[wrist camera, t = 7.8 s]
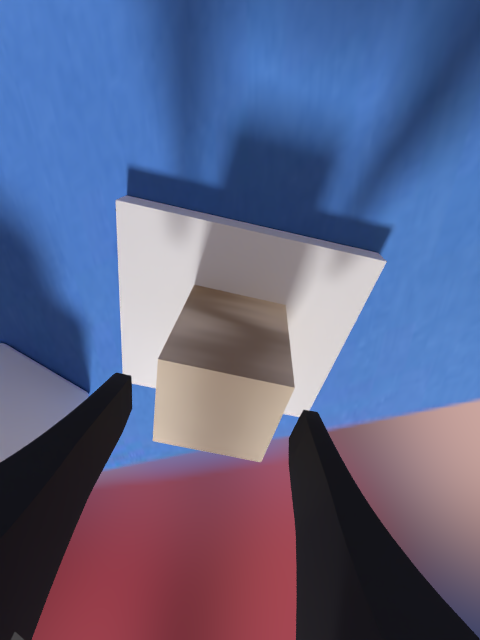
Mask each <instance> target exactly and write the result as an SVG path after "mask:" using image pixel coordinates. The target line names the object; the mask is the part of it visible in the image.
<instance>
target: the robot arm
mask: <svg viewBox="0 0 480 640" xmlns="http://www.w3.org/2000/svg"><path fill="white" fill-rule="evenodd" d="M131 410H132V377H131V375H126V374H121V373H115V374H114V375H112V376H111V377H110V378H109V379H108V380H107V381H106V382H105V383H104V384H103V385H102V386H101V387H99V388H98V389H97V390H96V391H95V392H94V393H93V394H92V395H90V396H89V397H88V398H87V399H86V400H85V401H83V402H82V403H81V404H80V405H79V406H77V407H76V408H75V409H74V410H73V411H72V412H70V413H69V414H68V415H67V416H65V417H64V418H63V419H61V420H60V421H59V422H58V423H56V424H55V425H54V426H52V427H51V428H50V429H48V430H47V431H46V432H44V433H43V434H42V435H40V436H39V437H38V438H36V439H35V440H33V441H32V442H30V443H29V444H28V445H26V446H25V447H23V448H22V449H20V450H19V451H17V452H16V453H14V454H13V455H11V456H10V457H8V458H6V459H5V460H3V461H2V462H0V640H32V637H33V634H34V631H35V629H36V626H37V623H38V621H39V618H40V615H41V613H42V610H43V607H44V605H45V602H46V599H47V597H48V594H49V591H50V589H51V586H52V584H53V581H54V579H55V576H56V574H57V571H58V568H59V566H60V564H61V561H62V559H63V556H64V554H65V551H66V549H67V546H68V544H69V541H70V539H71V537H72V534H73V532H74V529H75V527H76V524H77V522H78V520H79V518H80V515H81V513H82V511H83V508H84V506H85V504H86V501H87V499H88V497H89V495H90V493H91V491H92V489H93V487H94V485H95V483H96V481H97V479H98V478H99V476H100V474H101V472H102V470H103V468H104V466H105V464H106V463H107V461H108V459H109V457H110V455H111V453H112V451H113V449H114V448H115V446H116V444H117V442H118V440H119V438H120V436H121V434H122V432H123V430H124V427H125V425H126V423H127V420H128V417H129V415H130V412H131ZM289 471H290V480H291V490H292V500H293V509H294V518H295V530H296V562H297V611H296V612H297V613H296V640H479V638H478V637H477V635H476V634H474V632H473V631H472V630H471V629H470V628H469V627H468V626H467V625H466V624H465V622H464V621H463V620H462V619H461V618H460V617H459V616H458V615H457V614H456V613H455V612H454V611H453V609H452V608H451V607H450V606H449V605H448V604H447V603H446V602H445V601H444V600H443V599H442V598H441V596H440V595H439V594H438V593H437V592H436V591H435V589H434V588H433V587H432V586H431V585H430V583H429V582H428V581H427V580H426V579H425V578H424V577H423V575H422V574H421V573H420V572H419V571H418V569H417V568H416V567H415V566H414V565H413V563H412V562H411V560H410V559H409V558H408V557H407V555H406V554H405V553H404V552H403V550H402V549H401V548H400V547H399V545H398V544H397V543H396V541H395V540H394V539H393V538H392V536H391V535H390V534H389V532H388V531H387V529H386V528H385V527H384V525H383V524H382V523H381V521H380V520H379V518H378V517H377V515H376V514H375V512H374V511H373V510H372V508H371V507H370V505H369V504H368V502H367V501H366V499H365V497H364V496H363V494H362V493H361V491H360V489H359V488H358V486H357V484H356V483H355V481H354V480H353V478H352V476H351V475H350V473H349V471H348V469H347V468H346V466H345V464H344V462H343V461H342V458H341V457H340V455H339V453H338V451H337V449H336V447H335V445H334V444H333V442H332V440H331V438H330V436H329V434H328V432H327V430H326V428H325V426H324V424H323V422H322V420H321V418H320V416H319V414H318V412H314V411H308V410H303V411H302V413H301V415H300V417H299V419H298V421H297V423H296V425H295V427H294V429H293V431H292V433H291V435H290V437H289Z"/></svg>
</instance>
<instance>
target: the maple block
mask: <svg viewBox="0 0 480 640" xmlns="http://www.w3.org/2000/svg"><path fill="white" fill-rule="evenodd" d="M294 389H295V385H294V376H293V367H292V358H291V349H290V340H289V331H288V322H287V313H286V305H283V304H279V303H274V302H270V301H265V300H261V299H256V298H252V297H248V296H243V295H239V294H234V293H230V292H225V291H221V290H216V289H212V288H207V287H203V286H198V285H194V286H193V288H192V290H191V292H190V294H189V296H188V299H187V301H186V303H185V305H184V307H183V309H182V311H181V313H180V315H179V317H178V319H177V321H176V323H175V325H174V327H173V329H172V331H171V333H170V335H169V337H168V339H167V341H166V343H165V345H164V347H163V349H162V352H161V354H160V356H159V358H158V364H157V381H156V397H155V413H154V430H153V441H155V442H160V443H165V444H170V445H175V446H181V447H186V448H191V449H196V450H201V451H206V452H211V453H216V454H221V455H227V456H232V457H237V458H242V459H247V460H252V461H257V462H261V461H262V459H263V457H264V454H265V452H266V450H267V448H268V446H269V443H270V441H271V439H272V437H273V435H274V433H275V430H276V428H277V426H278V424H279V422H280V419H281V417H282V415H283V413H284V411H285V408H286V406H287V404H288V402H289V400H290V397H291V395H292V393H293V391H294Z"/></svg>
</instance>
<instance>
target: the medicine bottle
mask: <svg viewBox="0 0 480 640" xmlns="http://www.w3.org/2000/svg"><path fill="white" fill-rule="evenodd" d="M88 396H89V395H88V392H86V391H85V390H83V389H81V388H79V387H78V386H76V385H74V384H73V383H71V382H69V381H68V380H66V379H64V378H63V377H61V376H59V375H57V374H56V373H54V372H52V371H51V370H49V369H47V368H46V367H44V366H42V365H40V364H39V363H37V362H35V361H34V360H32V359H30V358H29V357H27V356H25V355H24V354H22V353H20V352H18V351H17V350H15V349H13V348H12V347H10V346H8V345H7V344H4V343H0V462H2V461H3V460H5V459H6V458H8V457H10V456H11V455H13V454H14V453H16V452H17V451H19V450H20V449H22V448H23V447H25V446H26V445H28V444H29V443H30V442H32V441H33V440H35V439H36V438H38V437H39V436H40V435H42V434H43V433H44V432H46V431H47V430H48V429H50V428H51V427H52V426H54V425H55V424H56V423H58V422H59V421H60V420H61V419H63V418H64V417H65V416H67V415H68V414H69V413H70V412H72V411H73V410H74V409H75V408H76V407H77V406H79V405H80V404H81V403H82V402H83V401H85V400H86V399H87V398H88Z"/></svg>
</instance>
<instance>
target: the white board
mask: <svg viewBox="0 0 480 640" xmlns="http://www.w3.org/2000/svg"><path fill="white" fill-rule="evenodd" d="M116 220H117V244H118V269H119V293H120V317H121V342H122V366H123V374H126V375H131V377H132V384H137V385H142V386H147V387H152V388H156V381H157V364H158V358H159V356H160V354H161V352H162V349H163V347H164V345H165V343H166V341H167V339H168V337H169V335H170V333H171V331H172V329H173V327H174V325H175V323H176V321H177V319H178V317H179V315H180V313H181V311H182V309H183V307H184V305H185V303H186V301H187V299H188V296H189V294H190V292H191V290H192V288H193V286H194V285H198V286H203V287H207V288H212V289H216V290H221V291H225V292H230V293H234V294H239V295H243V296H248V297H252V298H256V299H261V300H265V301H270V302H274V303H279V304H283V305H286V313H287V322H288V331H289V340H290V349H291V358H292V367H293V376H294V385H295V389H294V391H293V393H292V395H291V397H290V400H289V402H288V404H287V406H286V408H285V411H284V413H283V414H286V415H291V416H296V417H300V415H301V413H302V411H303V410H308V411H309V410H310V408H311V406H312V405H313V403H314V401H315V399H316V397H317V395H318V393H319V391H320V389H321V387H322V385H323V383H324V381H325V379H326V378H327V376H328V374H329V372H330V370H331V368H332V366H333V364H334V362H335V360H336V358H337V356H338V354H339V353H340V351H341V349H342V347H343V345H344V343H345V341H346V339H347V337H348V335H349V333H350V331H351V329H352V327H353V326H354V324H355V322H356V320H357V318H358V316H359V314H360V312H361V310H362V308H363V306H364V304H365V302H366V300H367V299H368V297H369V295H370V293H371V291H372V289H373V287H374V285H375V283H376V281H377V279H378V277H379V275H380V274H381V272H382V270H383V268H384V266H385V264H386V262H387V261H386V260H385V259H384V258H383V257H382V256H381V255H380V254H379V253H376V252H372V251H368V250H363V249H359V248H354V247H350V246H346V245H341V244H337V243H333V242H328V241H324V240H320V239H315V238H311V237H306V236H302V235H298V234H293V233H289V232H285V231H280V230H276V229H271V228H267V227H263V226H258V225H254V224H250V223H245V222H241V221H236V220H232V219H228V218H223V217H219V216H215V215H210V214H206V213H201V212H197V211H193V210H188V209H184V208H180V207H175V206H171V205H166V204H162V203H158V202H153V201H149V200H145V199H140V198H136V197H131V196H127V195H126V196H124V197H121V198H119V199H117V200H116Z"/></svg>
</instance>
